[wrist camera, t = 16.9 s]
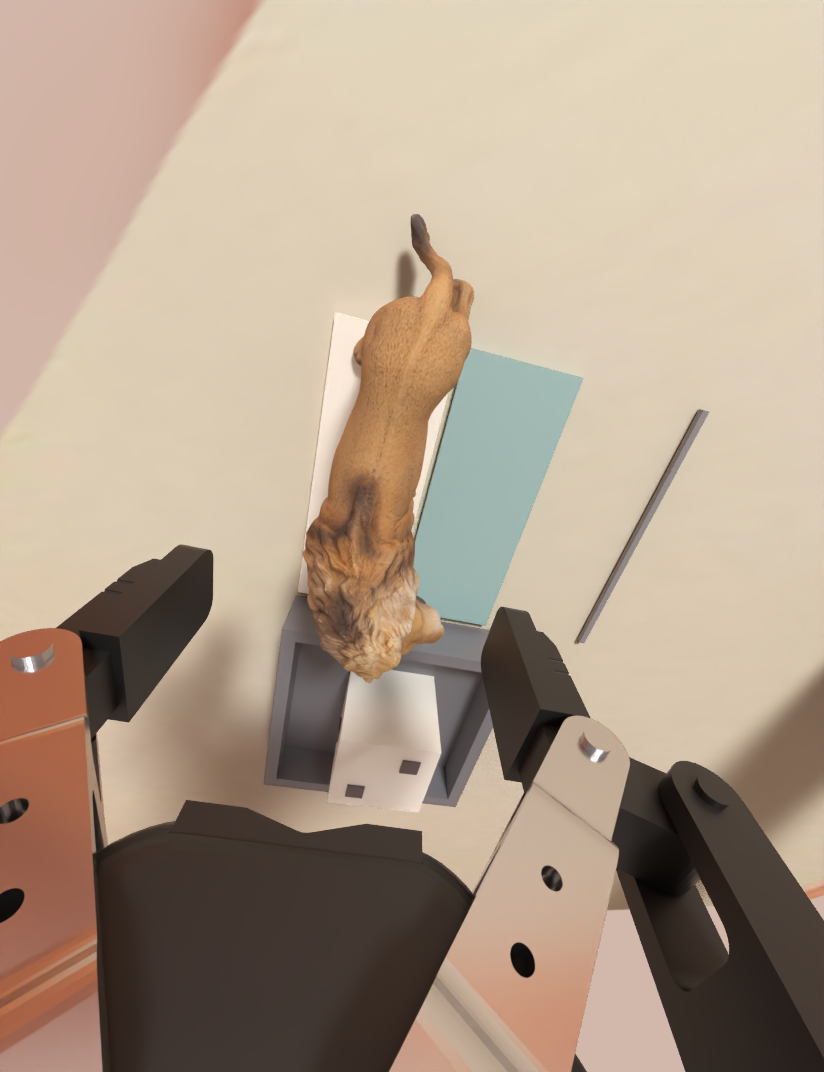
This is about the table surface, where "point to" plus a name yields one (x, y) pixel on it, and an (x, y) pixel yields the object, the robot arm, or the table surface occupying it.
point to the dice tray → (319, 691)
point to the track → (473, 471)
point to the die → (386, 742)
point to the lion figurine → (386, 476)
